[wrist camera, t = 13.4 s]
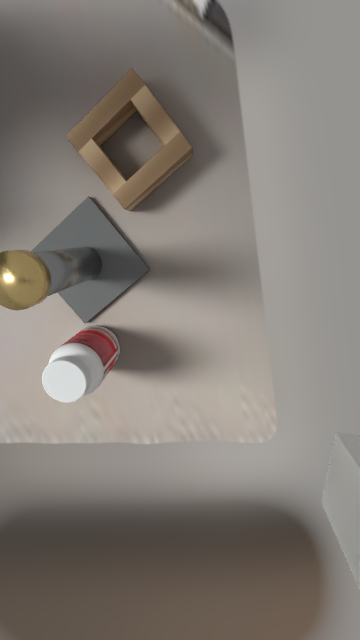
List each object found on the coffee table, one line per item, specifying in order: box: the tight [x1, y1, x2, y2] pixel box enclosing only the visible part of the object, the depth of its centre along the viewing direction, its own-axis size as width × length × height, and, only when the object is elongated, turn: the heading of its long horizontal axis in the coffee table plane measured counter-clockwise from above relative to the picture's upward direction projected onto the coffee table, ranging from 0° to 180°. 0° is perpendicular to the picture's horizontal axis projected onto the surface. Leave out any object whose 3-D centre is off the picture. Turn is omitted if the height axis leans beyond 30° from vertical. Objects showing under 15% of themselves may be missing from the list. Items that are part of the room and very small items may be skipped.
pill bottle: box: [42, 326, 120, 403], centre depth 38 cm, size 6×6×11 cm
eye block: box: [66, 68, 193, 211], centre depth 36 cm, size 10×10×3 cm
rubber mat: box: [31, 197, 150, 323], centre depth 41 cm, size 11×11×1 cm
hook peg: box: [0, 247, 102, 310], centre depth 33 cm, size 5×5×16 cm
